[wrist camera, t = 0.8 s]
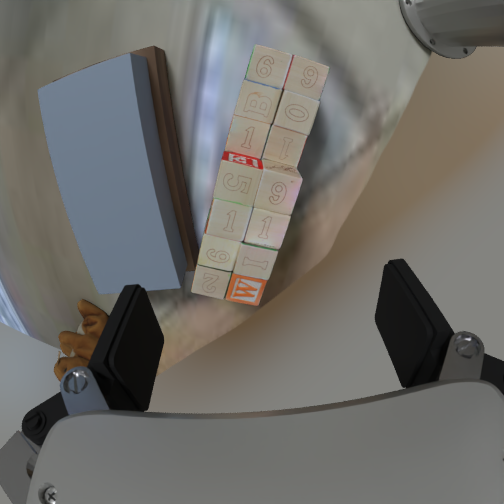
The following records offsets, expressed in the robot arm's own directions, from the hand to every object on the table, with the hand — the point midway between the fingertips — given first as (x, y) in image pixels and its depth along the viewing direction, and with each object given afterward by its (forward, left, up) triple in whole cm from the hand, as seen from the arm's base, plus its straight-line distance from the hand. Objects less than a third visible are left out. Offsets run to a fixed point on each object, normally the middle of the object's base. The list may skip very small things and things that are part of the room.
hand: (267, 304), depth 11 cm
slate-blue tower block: (+14, -1, -20) cm, 24 cm away
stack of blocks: (0, 0, -24) cm, 24 cm away
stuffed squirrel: (+27, +25, -24) cm, 44 cm away
